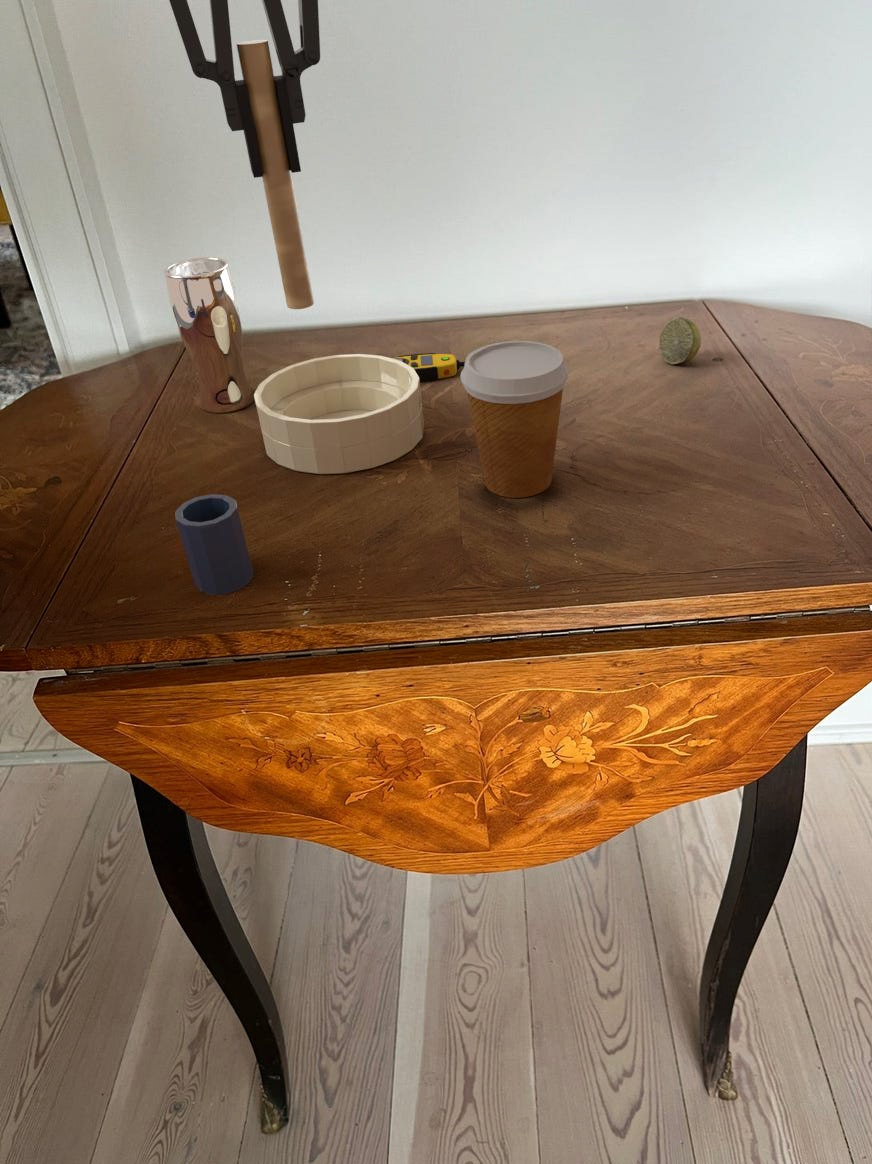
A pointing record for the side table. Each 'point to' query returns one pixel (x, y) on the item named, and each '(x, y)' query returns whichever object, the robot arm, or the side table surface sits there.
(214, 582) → the holder
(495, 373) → the disposable coffee cup
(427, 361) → the yellow handheld meter
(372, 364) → the bowl
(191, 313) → the beer glass
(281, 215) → the stick
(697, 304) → the side table surface
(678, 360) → the lime
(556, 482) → the side table surface
